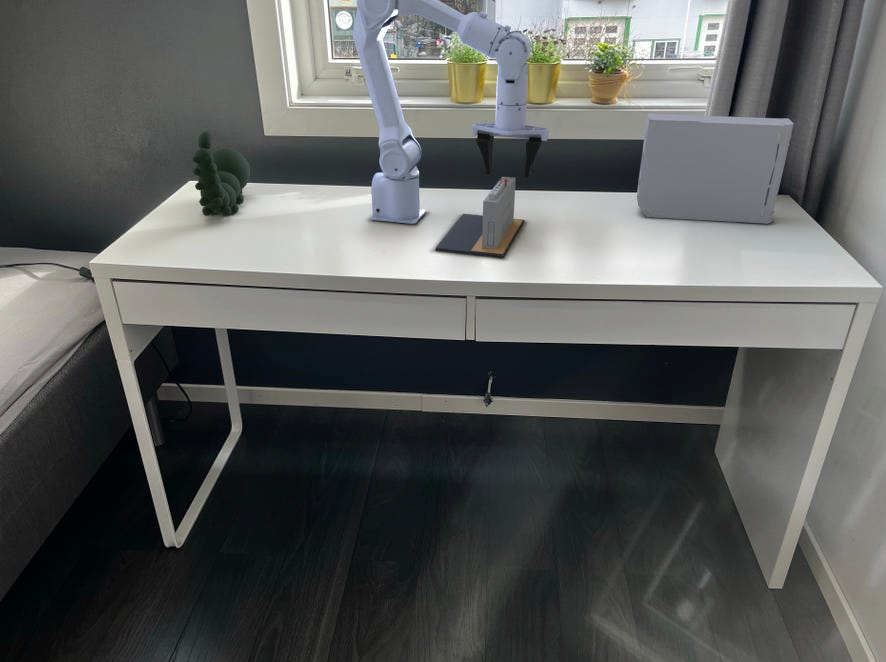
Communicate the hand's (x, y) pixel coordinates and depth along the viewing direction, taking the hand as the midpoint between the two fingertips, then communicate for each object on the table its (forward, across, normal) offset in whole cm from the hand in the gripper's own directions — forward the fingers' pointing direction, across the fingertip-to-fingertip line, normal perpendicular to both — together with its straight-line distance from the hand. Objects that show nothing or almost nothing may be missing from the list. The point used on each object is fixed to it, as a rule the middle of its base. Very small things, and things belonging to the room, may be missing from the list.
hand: (508, 174), depth 148 cm
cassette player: (+10, 0, -7) cm, 12 cm away
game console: (+11, +38, +17) cm, 43 cm away
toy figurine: (+11, -60, -7) cm, 61 cm away
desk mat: (+10, -3, -7) cm, 13 cm away
